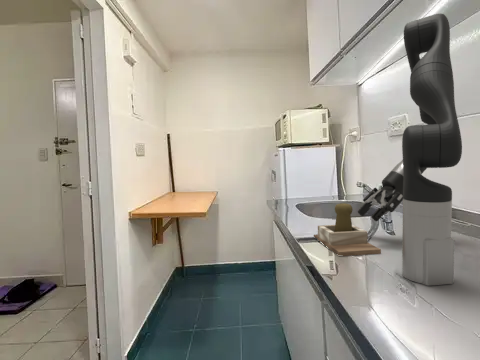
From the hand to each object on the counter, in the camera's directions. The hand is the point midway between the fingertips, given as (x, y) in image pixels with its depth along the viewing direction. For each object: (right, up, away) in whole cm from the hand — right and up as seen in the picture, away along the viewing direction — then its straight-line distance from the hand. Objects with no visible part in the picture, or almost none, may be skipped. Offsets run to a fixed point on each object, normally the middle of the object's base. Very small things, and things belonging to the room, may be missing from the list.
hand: (366, 216), depth 102 cm
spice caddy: (-8, -8, -2) cm, 12 cm away
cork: (-7, -7, 0) cm, 10 cm away
